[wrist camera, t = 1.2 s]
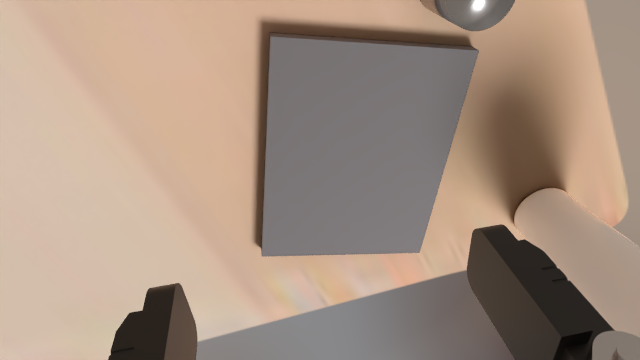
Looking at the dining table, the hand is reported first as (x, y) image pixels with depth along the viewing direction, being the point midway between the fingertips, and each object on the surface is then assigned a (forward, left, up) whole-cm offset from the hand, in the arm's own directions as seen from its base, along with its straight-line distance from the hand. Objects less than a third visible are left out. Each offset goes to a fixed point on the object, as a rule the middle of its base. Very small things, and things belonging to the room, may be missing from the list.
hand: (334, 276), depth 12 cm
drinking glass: (+24, -12, -20) cm, 34 cm away
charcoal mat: (+6, -7, -20) cm, 22 cm away
